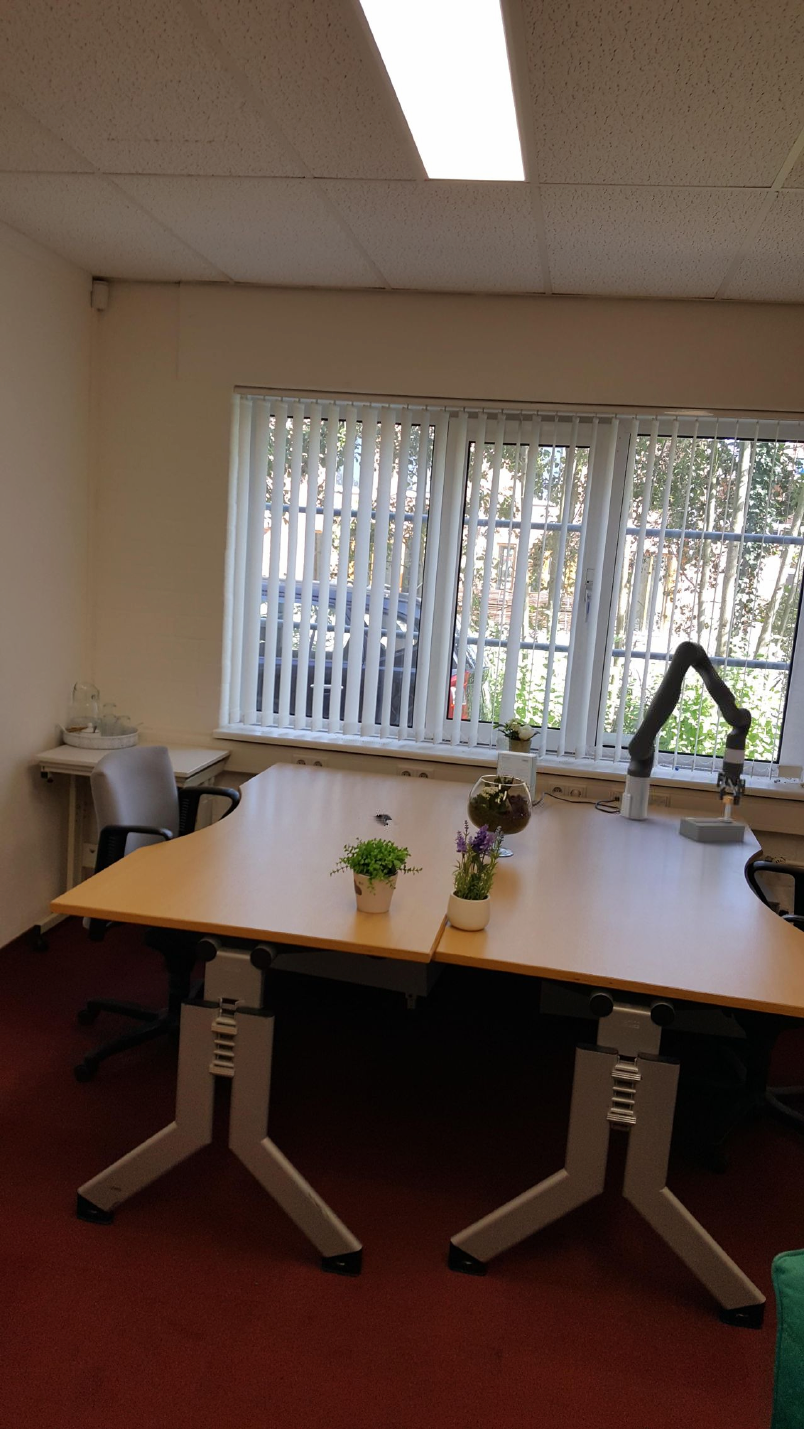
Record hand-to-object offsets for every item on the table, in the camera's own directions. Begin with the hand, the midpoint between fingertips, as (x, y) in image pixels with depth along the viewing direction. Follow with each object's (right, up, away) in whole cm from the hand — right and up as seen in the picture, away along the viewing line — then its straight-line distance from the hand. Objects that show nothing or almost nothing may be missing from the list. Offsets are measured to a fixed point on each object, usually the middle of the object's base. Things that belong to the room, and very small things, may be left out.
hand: (728, 802), depth 366 cm
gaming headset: (-130, -7, -13) cm, 131 cm away
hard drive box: (-76, -3, +42) cm, 87 cm away
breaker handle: (0, -7, +1) cm, 7 cm away
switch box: (-7, -13, 0) cm, 15 cm away
